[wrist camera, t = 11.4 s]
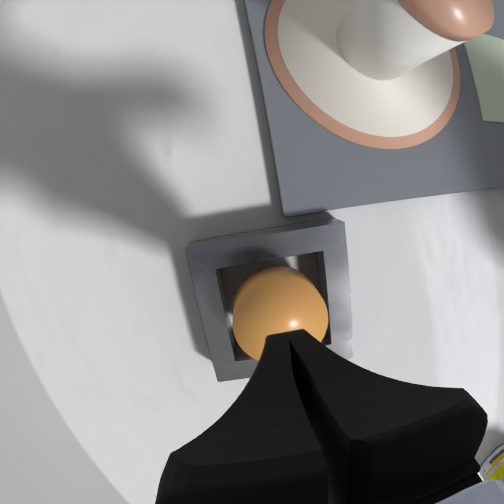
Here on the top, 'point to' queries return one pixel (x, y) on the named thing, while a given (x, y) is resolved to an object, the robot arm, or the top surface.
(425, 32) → the white and brown cylinder
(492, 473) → the supplement bottle
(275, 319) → the button
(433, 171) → the picture board
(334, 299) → the button housing
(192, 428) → the top surface
